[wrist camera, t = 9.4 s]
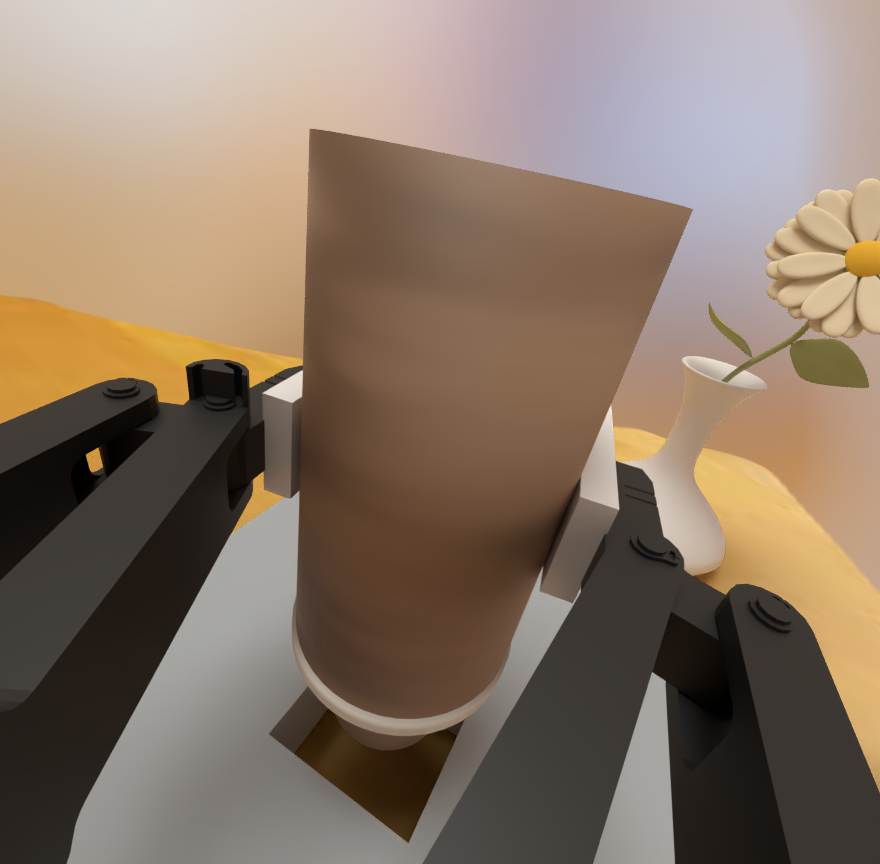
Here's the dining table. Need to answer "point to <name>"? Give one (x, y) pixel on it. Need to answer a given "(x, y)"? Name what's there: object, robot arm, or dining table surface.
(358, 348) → the walnut peg
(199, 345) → the dining table surface
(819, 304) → the flower in vase
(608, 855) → the slate board
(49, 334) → the dining table surface
